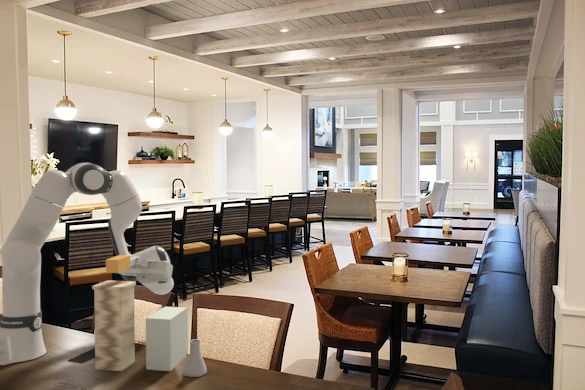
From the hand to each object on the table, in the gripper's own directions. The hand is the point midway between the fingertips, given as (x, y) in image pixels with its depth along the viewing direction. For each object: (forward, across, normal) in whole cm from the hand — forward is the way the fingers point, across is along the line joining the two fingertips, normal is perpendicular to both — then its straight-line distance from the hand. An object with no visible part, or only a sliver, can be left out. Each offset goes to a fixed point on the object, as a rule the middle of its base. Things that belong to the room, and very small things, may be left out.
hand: (132, 259), depth 170 cm
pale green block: (-10, +15, +30) cm, 35 cm away
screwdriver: (+3, 0, +4) cm, 5 cm away
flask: (-5, +27, +34) cm, 44 cm away
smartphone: (-12, -13, +30) cm, 35 cm away
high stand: (-6, 0, +33) cm, 34 cm away
